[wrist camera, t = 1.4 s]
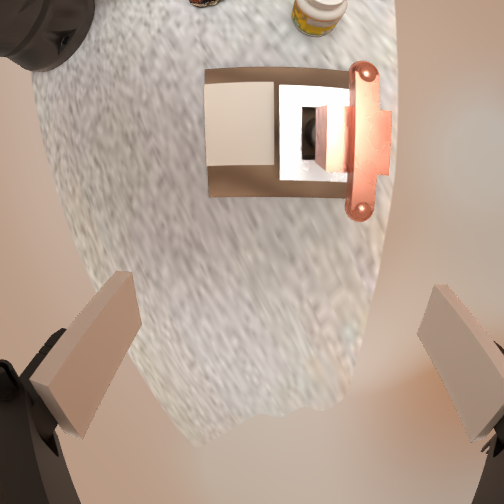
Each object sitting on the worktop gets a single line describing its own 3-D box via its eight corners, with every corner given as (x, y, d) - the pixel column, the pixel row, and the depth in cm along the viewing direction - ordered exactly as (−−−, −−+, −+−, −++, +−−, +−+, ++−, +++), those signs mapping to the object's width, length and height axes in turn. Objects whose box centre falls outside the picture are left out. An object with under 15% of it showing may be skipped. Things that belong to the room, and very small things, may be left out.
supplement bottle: (332, 41, 29) (352, 17, 20) (289, 33, 29) (295, 5, 20) (336, 6, 27) (355, -24, 18) (293, -2, 27) (300, -36, 18)
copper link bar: (301, 87, 31) (331, 53, 15) (339, 89, 31) (401, 64, 14) (300, 177, 35) (328, 225, 19) (338, 178, 35) (393, 226, 19)
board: (206, 70, 31) (204, 69, 30) (362, 74, 30) (364, 73, 29) (210, 195, 38) (209, 197, 37) (358, 197, 37) (361, 199, 36)
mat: (204, 85, 31) (203, 84, 31) (273, 82, 31) (273, 81, 30) (207, 165, 35) (206, 166, 35) (274, 164, 35) (274, 165, 34)
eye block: (278, 90, 31) (279, 85, 27) (361, 96, 31) (375, 92, 26) (278, 172, 35) (279, 180, 31) (359, 175, 35) (371, 183, 30)
